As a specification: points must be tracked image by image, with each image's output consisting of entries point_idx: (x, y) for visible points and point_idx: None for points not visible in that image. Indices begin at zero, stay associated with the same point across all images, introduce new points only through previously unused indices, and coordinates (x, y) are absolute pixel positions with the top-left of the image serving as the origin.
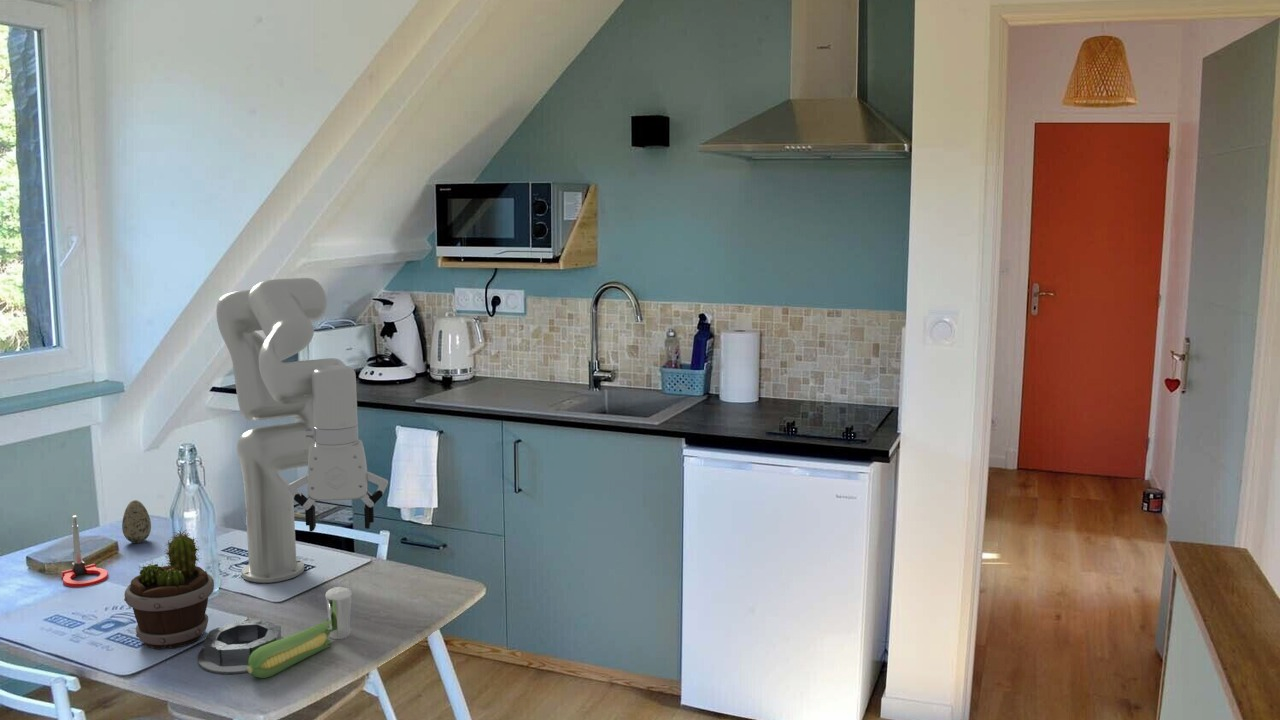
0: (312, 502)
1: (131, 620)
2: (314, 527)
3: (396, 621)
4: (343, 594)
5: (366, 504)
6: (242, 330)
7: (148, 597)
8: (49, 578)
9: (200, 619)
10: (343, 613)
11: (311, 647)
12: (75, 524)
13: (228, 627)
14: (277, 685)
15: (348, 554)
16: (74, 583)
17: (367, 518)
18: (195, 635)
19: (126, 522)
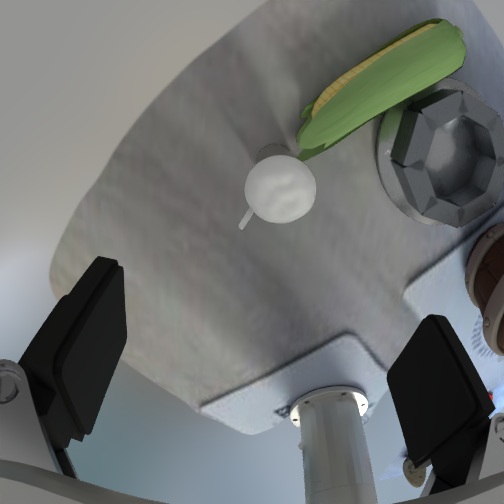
0: (489, 462)
1: None
2: (411, 346)
3: (160, 193)
4: (270, 163)
5: (28, 394)
6: None
7: None
8: None
9: (493, 251)
10: (270, 151)
11: (348, 72)
12: None
13: (474, 205)
14: (405, 5)
15: (229, 425)
16: (489, 395)
17: (74, 297)
18: (490, 231)
19: (425, 468)
